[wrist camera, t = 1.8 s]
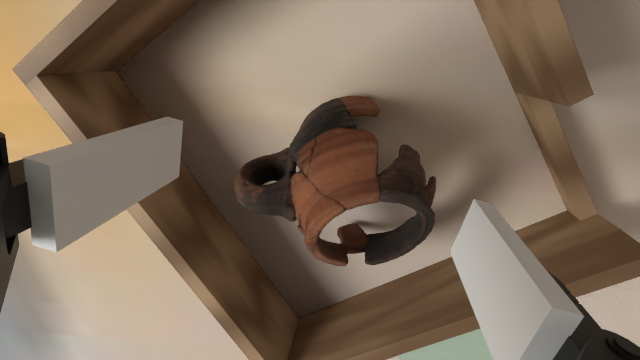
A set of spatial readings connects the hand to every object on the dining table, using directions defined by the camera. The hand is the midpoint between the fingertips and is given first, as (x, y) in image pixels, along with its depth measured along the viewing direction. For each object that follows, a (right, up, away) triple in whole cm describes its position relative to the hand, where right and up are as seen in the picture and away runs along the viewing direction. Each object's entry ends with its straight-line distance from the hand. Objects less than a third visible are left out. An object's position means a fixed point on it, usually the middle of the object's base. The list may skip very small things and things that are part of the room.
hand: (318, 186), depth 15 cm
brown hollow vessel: (0, +3, +9) cm, 10 cm away
